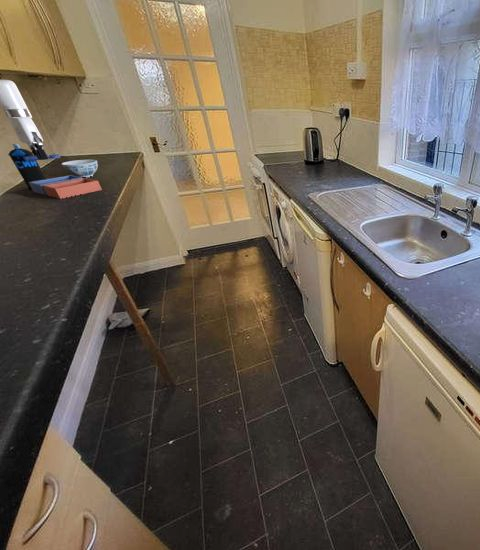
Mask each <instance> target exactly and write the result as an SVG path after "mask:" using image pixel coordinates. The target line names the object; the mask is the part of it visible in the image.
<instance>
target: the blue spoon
mask: <svg viewBox="0 0 480 550" xmlns="http://www.w3.org/2000/svg"><path fill="white" fill-rule="evenodd" d="M33 155H34V154H33ZM46 155H47V157H48V159H47V160H49V159H50V160H51V159H60V158H61V156H60V155H61V154H59V153H58V154H57V153H56V154H47V153H46ZM24 159H25V160H26V161H34V160H36V161H40V160H39V159H38V157H37V155H34V156H26V157H24Z"/></svg>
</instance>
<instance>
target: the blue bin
mask: <svg viewBox="0 0 480 550" xmlns="http://www.w3.org/2000/svg"><path fill="white" fill-rule="evenodd" d="M78 179H83V178H82V177H78V176H77V175H74V174H69V175H63V176H58V177H51V178H46V179H45V180H39V181H33V182H29V184H30V186H31V188H32V189H31V190H32V192H34V193H37V194H40V195H43V196H48V194H47V193H46V191H45V189H44V187H43V186H44V185H50V184H55V183H61V182H67V181H72V180H78Z"/></svg>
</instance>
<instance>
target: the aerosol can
mask: <svg viewBox="0 0 480 550" xmlns="http://www.w3.org/2000/svg"><path fill="white" fill-rule="evenodd" d="M11 144H12V147H13V148H14V149H12V150H10V151H9V153H8V154H7V156H9V158H10V159H11V160H12V162H13V164H14V166H15V167H16V169H17V171H18V172H19V174H20V176H21V177H22V179H23V181H24V183H25V184H26V186H27V189H28V190H33V189H32V188H31V186H30V184H29V182H33V181H39V180H45V179H47V177H46V176H45V173H44V171H43V170H42V167H40V165H39V162H38V160H34V161H26V160H25V159H24V157H26V156H34V154H33V153H32V151H31V150H28V149H25V148H21V146H20V145H19V143H11Z"/></svg>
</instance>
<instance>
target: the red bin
mask: <svg viewBox="0 0 480 550" xmlns="http://www.w3.org/2000/svg"><path fill="white" fill-rule="evenodd" d="M43 187H44V189H45V191H46V193H47V194H48V195H47V196H48V197H51V196H52V198H55V197H56V199H59V198H60V200H62V198H63V199H66V197H67V198H71V196H72V197H75V195H76V196H80V194H81V195H85V194H89V193H94V192H98V191H102V190H103V189H102V187H101V185H100V183H99V180H97V179H91V178H88V177H86V178H83V179H78V180H72V181H67V182H61V183H55V184H50V185H44V186H43Z"/></svg>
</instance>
